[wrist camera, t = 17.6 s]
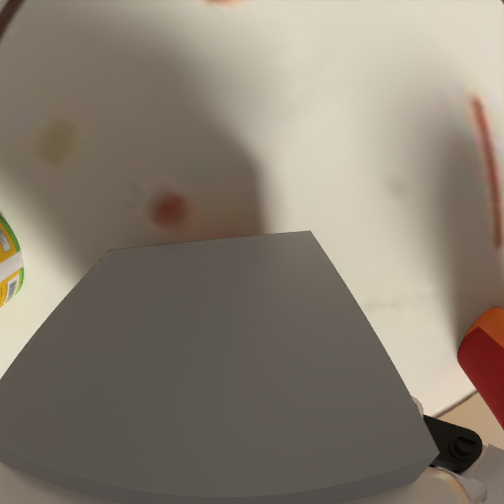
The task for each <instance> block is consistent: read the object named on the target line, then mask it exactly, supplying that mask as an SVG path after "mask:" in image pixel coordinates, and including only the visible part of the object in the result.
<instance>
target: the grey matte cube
mask: <svg viewBox="0 0 504 504" xmlns="http://www.w3.org/2000/svg"><path fill="white" fill-rule="evenodd" d="M439 453H440V452H439V450H438V448H437V446H436V444H435V442H434V440H433V438H432V436H431V434H430V432H429V430H428V428H427V426H426V424H425V422H424V420H423V418H422V416H421V414H420V412H419V410H418V408H417V406H416V404H415V403H414V401H413V399H412V397H411V395H410V393H409V391H408V389H407V388H406V386H405V384H404V382H403V380H402V378H401V377H400V375H399V373H398V371H397V369H396V368H395V366H394V364H393V362H392V361H391V359H390V357H389V355H388V354H387V352H386V350H385V348H384V347H383V345H382V343H381V341H380V340H379V338H378V336H377V335H376V333H375V331H374V330H373V328H372V326H371V325H370V323H369V321H368V320H367V318H366V316H365V315H364V313H363V311H362V310H361V308H360V306H359V305H358V303H357V302H356V300H355V298H354V297H353V295H352V294H351V292H350V290H349V289H348V287H347V286H346V284H345V282H344V281H343V279H342V278H341V276H340V275H339V273H338V272H337V270H336V268H335V267H334V265H333V264H332V262H331V261H330V259H329V258H328V256H327V255H326V253H325V252H324V250H323V249H322V247H321V246H320V244H319V243H318V241H317V240H316V238H315V237H314V235H313V234H312V232H311V231H300V232H289V233H277V234H266V235H255V236H244V237H233V238H222V239H212V240H202V241H192V242H182V243H172V244H162V245H152V246H143V247H134V248H125V249H115V250H109V251H108V252H107V253H106V254H105V255H104V256H103V257H102V258H101V259H100V260H99V261H98V262H97V263H96V264H95V265H94V266H93V267H92V269H91V270H90V271H89V272H88V273H87V274H86V275H85V276H84V277H83V278H82V279H81V280H80V281H79V282H78V284H77V285H76V286H75V287H74V288H73V289H72V290H71V291H70V292H69V294H68V295H67V296H66V297H65V298H64V299H63V300H62V301H61V303H60V304H59V305H58V306H57V307H56V308H55V310H54V311H53V312H52V313H51V314H50V315H49V317H48V318H47V319H46V320H45V321H44V323H43V324H42V325H41V326H40V328H39V329H38V330H37V331H36V332H35V334H34V335H33V336H32V338H31V339H30V340H29V341H28V343H27V344H26V345H25V347H24V348H23V349H22V350H21V352H20V353H19V354H18V356H17V357H16V358H15V360H14V361H13V362H12V364H11V365H10V367H9V368H8V369H7V371H6V372H5V374H4V375H3V376H2V378H1V379H0V461H1V462H3V463H5V464H7V465H9V466H11V467H13V468H15V469H18V470H20V471H22V472H24V473H26V474H29V475H31V476H33V477H36V478H38V479H41V480H43V481H46V482H48V483H51V484H54V485H56V486H59V487H62V488H65V489H68V490H71V491H74V492H77V493H80V494H83V495H87V496H90V497H94V498H98V499H101V500H105V501H109V502H114V503H118V504H340V503H345V502H349V501H353V500H357V499H361V498H365V497H369V496H372V495H376V494H379V493H383V492H386V491H389V490H392V489H395V488H398V487H401V486H404V485H407V484H409V483H412V482H415V481H416V480H417V479H418V478H419V477H420V475H421V474H422V473H423V472H424V471H425V470H426V469H427V467H428V466H429V465H430V464H431V463H432V461H433V460H434V459H435V458H436V457H437V455H438V454H439Z"/></svg>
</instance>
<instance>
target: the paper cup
mask: <svg viewBox="0 0 504 504" xmlns="http://www.w3.org/2000/svg"><path fill="white" fill-rule="evenodd" d="M458 363H459V365H460V366H461V368H462V369H463V371H464V372H465V373H466V375H467V376H468V378H469V379H470V381H471V382H472V383H473V385H474V386H475V388H476V389H477V391H478V392H479V393H480V395H481V396H482V398H483V399H484V401H485V402H486V404H487V405H488V407H489V408H490V410H491V411H492V413H493V414H494V416H495V417H496V419H497V420H498V422H499V423H500V425H501V427H502V428H503V430H504V310H503V309H501V308H498V307H496V308H492V309H490V310H488V311H487V312H485V313H484V314H483V315H481V316H480V317H479V318H478V319H477V320H476V322H475V323H474V324H473V325H472V326H471V328H470V329H469V331H468V332H467V334H466V335H465V337H464V339H463V341H462V343H461V346H460V348H459V352H458Z"/></svg>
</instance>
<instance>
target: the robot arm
mask: <svg viewBox="0 0 504 504" xmlns="http://www.w3.org/2000/svg"><path fill="white" fill-rule="evenodd" d="M411 397H412V399H413V401H414V403H415V404H416V406H417V408H418V410H419V412H420V414H421V416H422V418H423V420H424V422H425V424H426V426H427V428H428V430H429V432H430V434H431V436H432V438H433V440H434V442H435V444H436V446H437V448H438V450H439V452H440V453H439V454H438V455H437V457H436V458H435V459H434V460H433V461H432V463H431V464H430V465H429V466H428V467H427V469H426V470H425V471H424V472H423V473H422V474H421V475H420V477H419V478H418V479H417V480H416V481H415V482H412V483H409V484H407V485H404V486H401V487H398V488H395V489H392V490H389V491H386V492H383V493H379V494H376V495H372V496H369V497H365V498H361V499H357V500H353V501H349V502H345V503H340V504H504V450H502V449H499V448H497V447H494V446H493V445H490V444H488V446H487V447H486V446H484V445H482V440H481V439H480V437H479V435H477V433H475V432H474V431H472V430H470V429H467V428H463V427H460V426H457V425H454V424H451V423H447V422H444V421H441V420H438V419H435V418H432V417H430V416H427V415H424V414H423V407H422V405H421V403H420V402H419V401H418V400H417V399H416V398H415V397H413V396H411ZM0 504H118V503H114V502H109V501H105V500H101V499H98V498H94V497H90V496H87V495H83V494H80V493H77V492H74V491H71V490H68V489H65V488H62V487H59V486H56V485H54V484H51V483H48V482H46V481H43V480H41V479H38V478H36V477H33V476H31V475H29V474H26V473H24V472H22V471H20V470H18V469H15V468H13V467H11V466H9V465H7V464H5V463H3V462H1V461H0Z"/></svg>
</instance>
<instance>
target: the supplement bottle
mask: <svg viewBox="0 0 504 504" xmlns="http://www.w3.org/2000/svg"><path fill="white" fill-rule="evenodd" d="M23 278H24V263H23V257H22V253H21V249H20V246H19V243H18V241H17V239H16V237H15V235H14V233H13V231H12V230H11V228H10V227H9V225H8V224H7V223H6V222H5V221H4V220H3V219H2V218H1V217H0V307H1V306H2V305H4V304H5V303H6V302H7V301H8V300H9V299H11V298H12V297H13V296H14V295H15V294H16V293H17V292H18V291H19V290H20V288H21V286H22V283H23Z"/></svg>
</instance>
